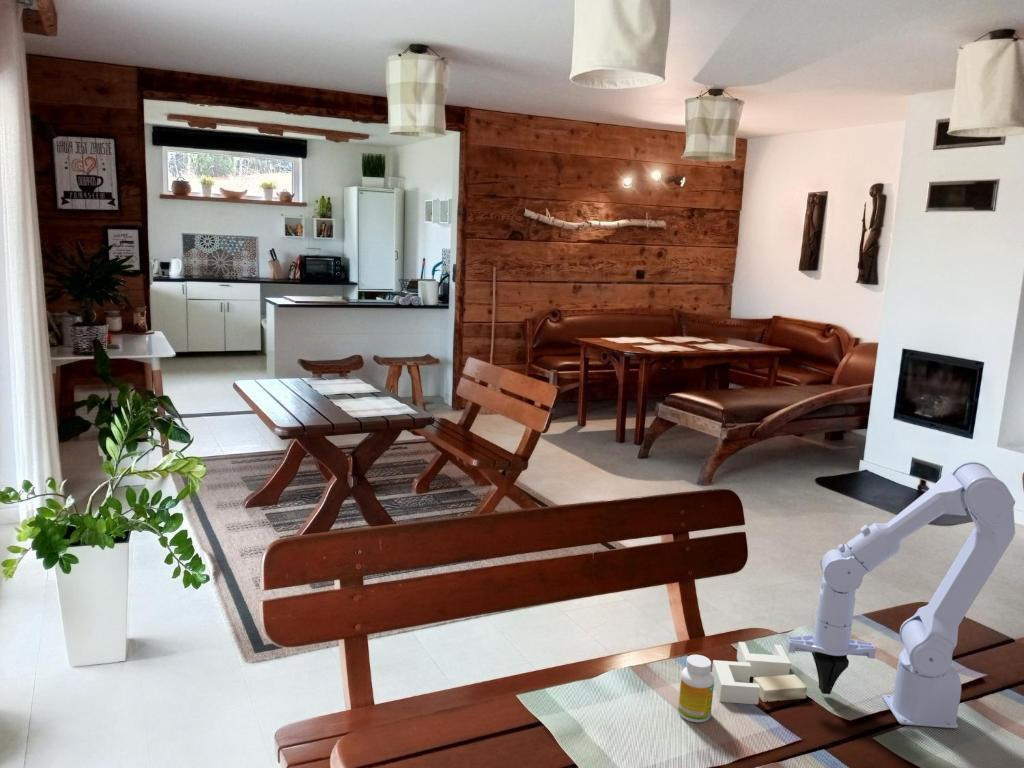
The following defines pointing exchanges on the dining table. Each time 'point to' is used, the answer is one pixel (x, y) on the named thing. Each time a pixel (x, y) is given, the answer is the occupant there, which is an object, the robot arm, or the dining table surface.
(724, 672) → the end cap
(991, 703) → the dining table surface
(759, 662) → the white u-shaped block
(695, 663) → the supplement bottle
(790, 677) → the beige rectangular block
